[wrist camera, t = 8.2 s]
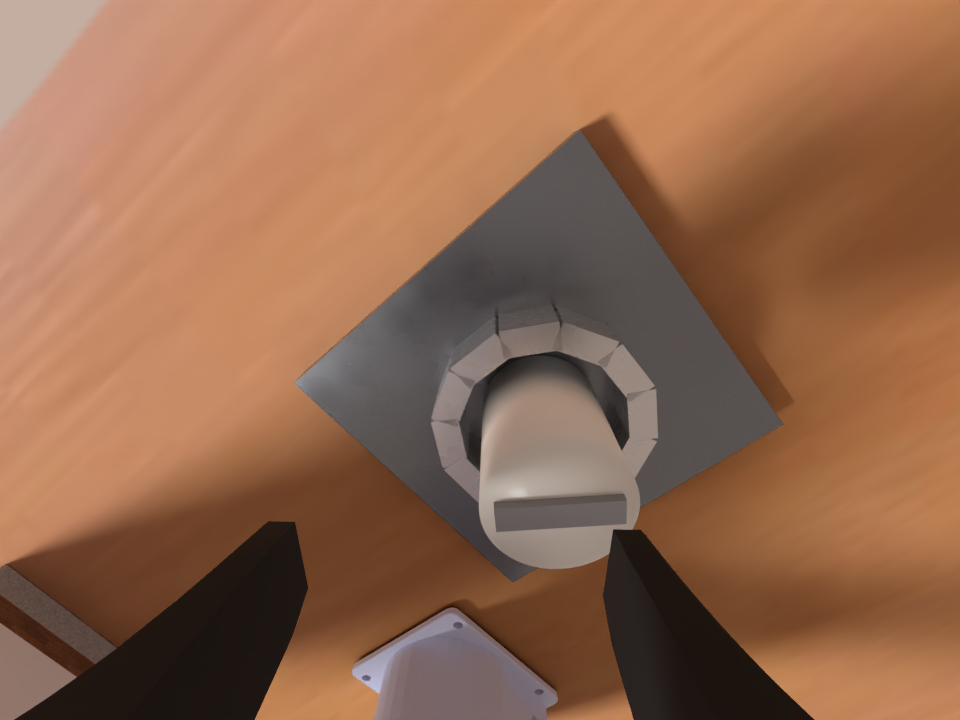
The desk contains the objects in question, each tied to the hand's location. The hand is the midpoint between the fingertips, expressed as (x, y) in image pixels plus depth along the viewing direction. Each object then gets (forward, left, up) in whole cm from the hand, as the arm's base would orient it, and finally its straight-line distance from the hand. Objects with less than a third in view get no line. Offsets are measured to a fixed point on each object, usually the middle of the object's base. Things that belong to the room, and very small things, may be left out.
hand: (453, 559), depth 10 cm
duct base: (-2, -2, -9) cm, 10 cm away
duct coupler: (-2, -2, -8) cm, 9 cm away
